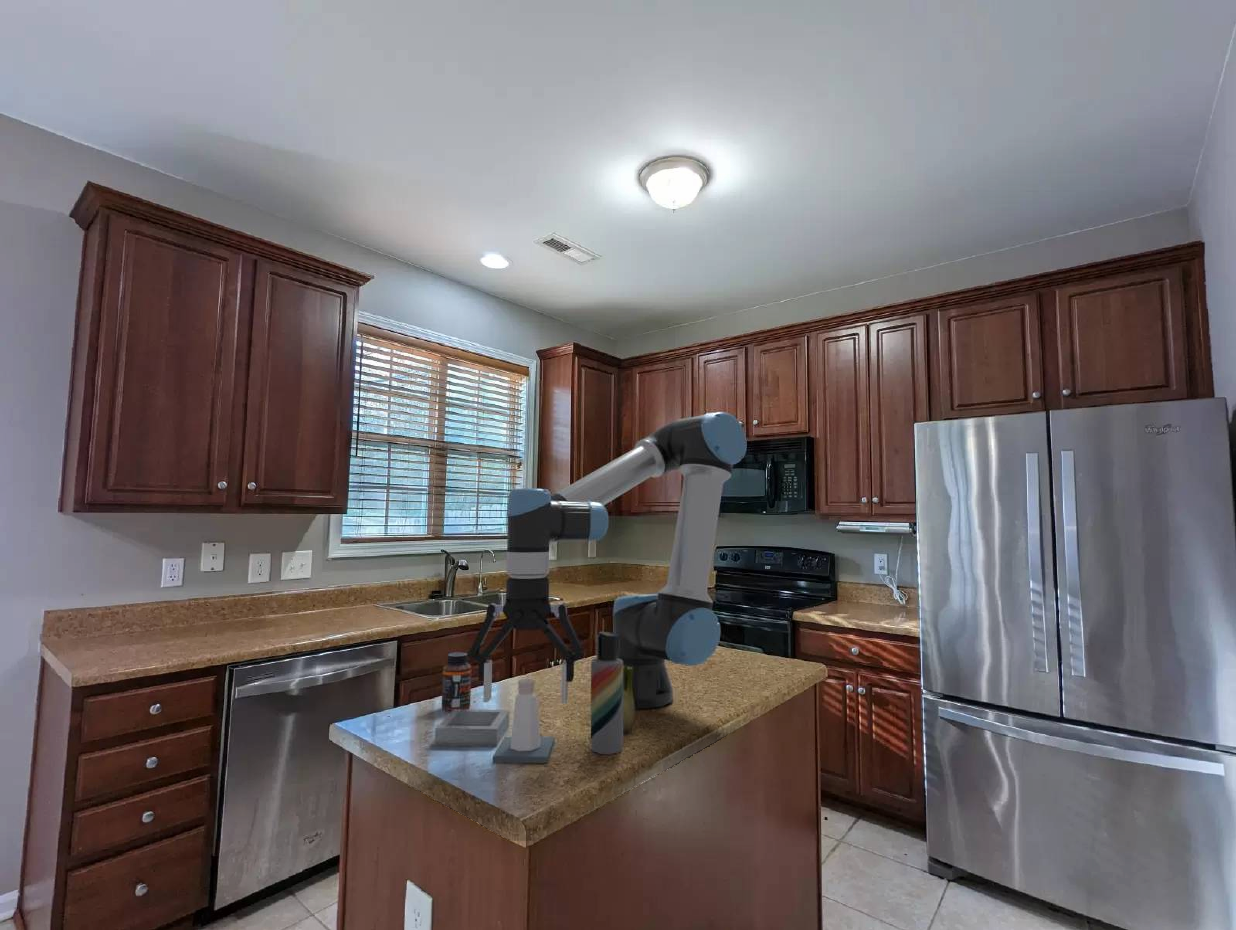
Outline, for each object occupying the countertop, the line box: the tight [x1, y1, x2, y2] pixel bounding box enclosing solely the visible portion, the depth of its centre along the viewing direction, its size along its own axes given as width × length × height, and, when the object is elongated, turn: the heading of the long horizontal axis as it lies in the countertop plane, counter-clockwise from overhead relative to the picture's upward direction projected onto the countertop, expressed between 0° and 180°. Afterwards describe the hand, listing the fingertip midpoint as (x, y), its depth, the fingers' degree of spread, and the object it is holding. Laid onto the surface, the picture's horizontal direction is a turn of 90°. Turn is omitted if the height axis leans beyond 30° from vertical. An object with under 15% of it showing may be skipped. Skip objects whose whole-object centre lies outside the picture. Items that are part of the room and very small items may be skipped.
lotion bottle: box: [590, 631, 624, 755], centre depth 106 cm, size 6×6×20 cm
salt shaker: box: [510, 678, 541, 752], centre depth 105 cm, size 5×5×11 cm
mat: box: [492, 736, 555, 764], centre depth 104 cm, size 9×9×1 cm
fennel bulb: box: [623, 666, 636, 735], centre depth 115 cm, size 6×5×12 cm
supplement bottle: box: [441, 651, 472, 713], centre depth 129 cm, size 6×6×11 cm
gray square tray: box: [434, 708, 510, 748], centre depth 112 cm, size 11×11×3 cm
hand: (525, 700), depth 105 cm, fingers open, 13 cm apart
